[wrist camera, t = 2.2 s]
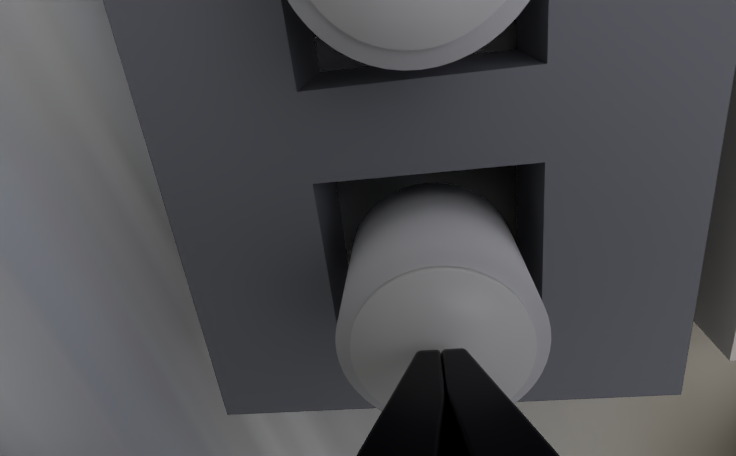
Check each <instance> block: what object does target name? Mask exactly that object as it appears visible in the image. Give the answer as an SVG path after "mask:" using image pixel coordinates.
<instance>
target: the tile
mask: <svg viewBox="0 0 736 456" xmlns="http://www.w3.org/2000/svg"><path fill="white" fill-rule="evenodd" d="M693 321H694V322H695V323H696V324H697V325H698V326H699V327H700V328H701V330H702V331H703V332H704V333H705V334H706V335H707V336H708V337H709V338H710V340H711V341H712V342H713V343H714V344H715V345H716V346H717V347H718V349H719V350H720V351H721V352H722V353H723V354H724V355H725V356H726V357H727V359H728V360H729V361H735V360H736V66H735V72H734V78H733V84H732V90H731V96H730V102H729V108H728V114H727V120H726V126H725V132H724V138H723V144H722V150H721V156H720V162H719V168H718V174H717V180H716V186H715V193H714V199H713V205H712V211H711V217H710V223H709V229H708V235H707V241H706V247H705V253H704V259H703V265H702V271H701V277H700V283H699V289H698V295H697V301H696V307H695V313H694V319H693Z"/></svg>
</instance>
